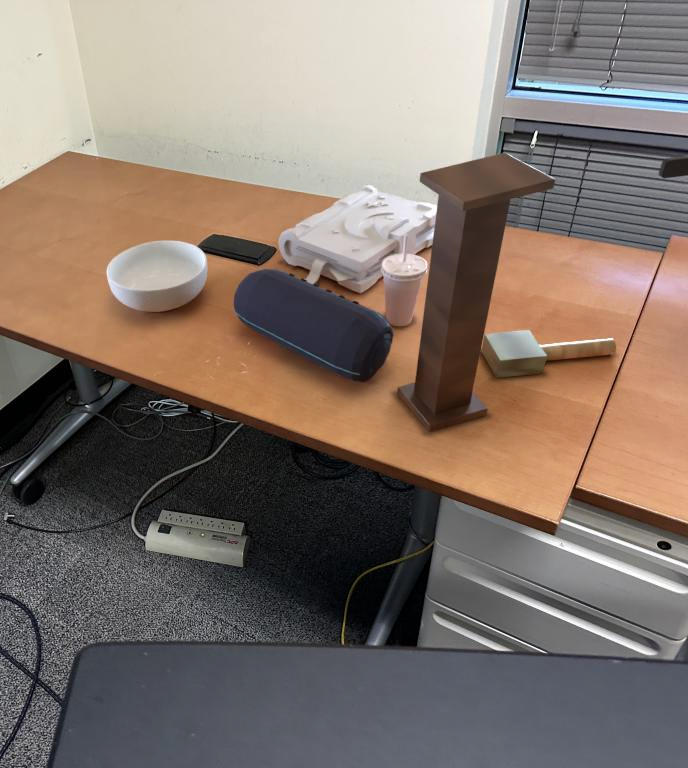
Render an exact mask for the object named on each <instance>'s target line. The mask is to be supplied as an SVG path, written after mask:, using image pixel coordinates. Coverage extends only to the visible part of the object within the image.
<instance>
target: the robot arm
mask: <svg viewBox="0 0 688 768" xmlns="http://www.w3.org/2000/svg"><path fill="white" fill-rule="evenodd" d="M660 164H661V165H660V167H659V170H658V176H660V177H661V178H662V179H670V178H678V177H688V155H682V156H673V157H672V156H671V157H667V158H664V159H663V160H662V161H661V163H660Z"/></svg>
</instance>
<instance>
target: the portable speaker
mask: <svg viewBox="0 0 688 768" xmlns="http://www.w3.org/2000/svg"><path fill="white" fill-rule="evenodd" d="M232 305H233V309H234V312H235V314H236V316H237V318H238V319H239V321H240V322H241V323H242V324H243V325H245V326H246V327H248V328H249V329H250V330H252V331H253V332H255V333H257V334H259V335H260V336H262V337H264V338H266V339H268V340H270V341H272V342H274V343H275V344H278V345H279V346H281V347H283V348H285V349H287V350H289V351H291V352H293V353H295V354H297V355H299V356H301V357H302V358H304V359H306V360H308V361H310V362H312V363H314V364H316V365H318V366H319V367H321V368H323V369H326V370H327V371H329V372H331V373H333V374H334V375H337V376H339V377H340V378H342V379H343V378H344V379H346V380H349V381H353V382H354V383H355V382H356V383H366V382H369V381H370V380H371V379H373V378H374V377H375V375H376V374H377V373H378V372H379V371H380V369H381V368H382V367H383V366H385V364H386V361H387V359H388V357H389V354H390V352H391V348H392V344H393V341H394V329H393V327H392V325H391V324H389V322H388V321H387V319H386V316H384V315H382V314H381V313H380V312H379V311H377V310H374V309H372V308H369V307H368V306H365V305H362V304H360V302H359V301H358V300H357V301H356V300H351V299H348V298H346V296H345V295H343V294H337V293H334V292H333V290H331V289H328V288H326V289H325V288H322V287H321V286H320V285H319V284H318V283H315V284H314V285H313V284H311V283H309V282H307V280H306V278H299V277H297V276H296V275H295V274H294V273H292V272H290V273H288V272H287V271H283V270H280V269H278V268H275V269H273V268H271V269H270V268H264V269H258V270H254V271H252V272H250V273H248V274H247V275H246V276H245V277H243V278H242V280H241V281H240V282H239V284H238V285H237V288H236V290H235V292H234V295H233V303H232Z"/></svg>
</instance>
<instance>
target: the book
mask: <svg viewBox="0 0 688 768" xmlns="http://www.w3.org/2000/svg"><path fill="white" fill-rule="evenodd" d="M436 212H437V204H433V203H430V202H426V201H425V202H424V201H421V202H419V201H415V200H412V199H409V198H404V197H400V196H398V195H393V194H391V193H387V192H383V191H379V189H377V188H376V187H375V186H373V185H370V184H365V185H362V186H360V187H359V188H357V189H356V191H355V192H352V193H349V194H347V195H345V196H344V197H341V198H340V199H338V200H336V201H334V202H333V204H332V205H331V206H330V207H328V208H325V209H324V210H322V211H321V212H317V213H314V214H312V215H310V216H309V217H307V218H305V219H303V220H301V221H299V222H298V223H296V224H295V226H294V227H289V228H288V229H285V230H283V231H282V232H281V233H280V235H279V238H278V249H279V251H280V254H281V257H282V258H283V260H284V261H285V262H286V263H287V264H288V265H291V266H294V267H297V266H298V267H302V268H304V269H307V270H309V274H308V275H307V276H306V277H305V279H306V280H307V282H309V283H311V284H313V285H314V284H317V282H318V281H319V279H320V277H321V276H323V277H325V278H328V279H331V280H333V281H335V282H337V284H338V285H340V286H342V287H345V288H347V289H349V290H350V291H352V292H356V293H359V294H362V293H363V292H365V291H367V290H368V289H370V288H371V287H372V286H373V285H375V284H377V283H378V280H379V279H380V278H382V277H384V275H383V274H382V272H381V267H382V262H383V260H384V259H385V258H387V257H389V256H391V255H395V254H402V253H403V245H404V235H405V234H408V235H409V236H408V246H407V254H414V255H416V254H417V253H419V252H420V251H422V250H423V249H425V248H426V249H427V248H429V247H432V244H433V236H434V228H435V220H436Z"/></svg>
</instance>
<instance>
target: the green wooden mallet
mask: <svg viewBox="0 0 688 768" xmlns="http://www.w3.org/2000/svg"><path fill="white" fill-rule="evenodd" d="M616 351H617V343H616V341H615V339H614V338H612V337H610V338H609V337H608V338H599V339H587V340H579V341H578V340H577V341H567V342H559V343H558V342H557V343H547V344H539V343H538V341H537V339H536V337H534V335H533V333H532V332H531V330H530V329H524V330H514V331H513V330H512V331H504V332H493V333H484V337H483V342H482V347H481V352H480V353H482V356H483V357H484V359H485V361H486V362H487V364H488V366H489V367H490V369H491V371H492V373H493V374H494V376H495V378H497V379H498V378H499V379H500V378H508V377H519V376H529V375H530V376H531V375H540V374H542V375H543V372H544V369H545V366H546V362H549V361H556V360H567V359H578V358H587V357H588V358H589V357H590V358H591V357H600V356H610V355H614V354H615V353H616Z"/></svg>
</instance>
